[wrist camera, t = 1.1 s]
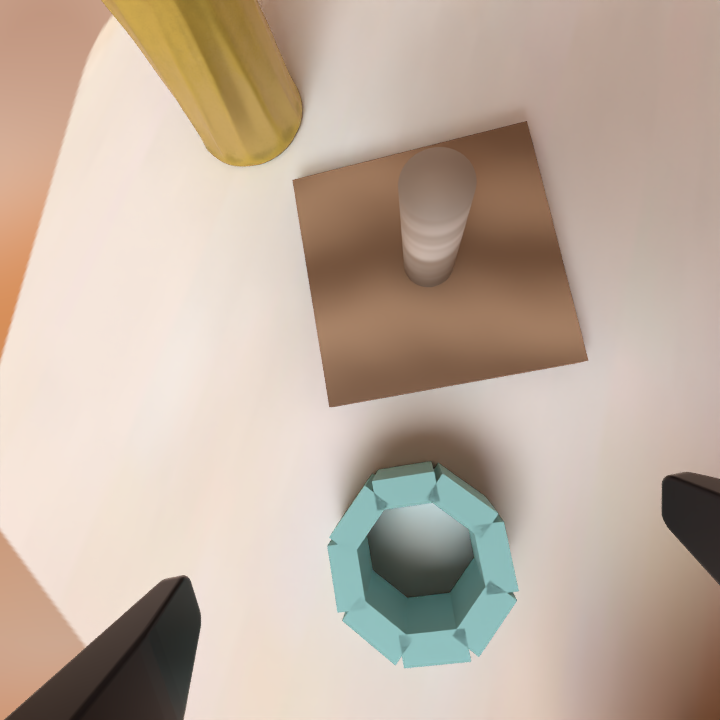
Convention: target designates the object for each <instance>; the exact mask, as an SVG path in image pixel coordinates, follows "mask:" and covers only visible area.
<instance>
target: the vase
mask: <svg viewBox="0 0 720 720" xmlns="http://www.w3.org/2000/svg"><path fill="white" fill-rule="evenodd" d="M102 2H103V3H104V4H105V6H106V7H107V8H108V9H109V11H110V12H111V13H112V14H113V15H114V17H115V18H116V19H117V20H118V22H119V23H120V24H121V25H122V26H123V28H124V29H125V30H126V31H127V33H128V34H129V35H130V36H131V38H132V39H133V40H134V42H135V43H136V44H137V46H138V47H139V49H140V50H141V51H142V53H143V54H144V55H145V57H146V58H147V60H148V61H149V63H150V64H151V65H152V67H153V68H154V70H155V71H156V72H157V74H158V75H159V77H160V78H161V79H162V81H163V82H164V84H165V85H166V86H167V88H168V89H169V90H170V92H171V93H172V94H173V96H174V97H175V98H176V100H177V101H178V103H179V104H180V106H181V108H182V109H183V111H184V112H185V114H186V115H187V117H188V118H189V120H190V121H191V123H192V125H193V126H194V128H195V129H196V131H197V132H198V134H199V135H200V137H201V139H202V140H203V143H204V145H205V146H206V148H207V150H208V151H209V152H210V153H211V154H212V155H213V156H215V157H216V158H217V159H219V160H220V161H222V162H224V163H226V164H229V165H233V166H253V165H259V164H263V163H265V162H267V161H270V160H272V159H273V158H275V157H276V156H278V155H279V154H280V153H282V152H283V151H284V150H285V149H286V148H287V147H288V146H289V144H290V143H291V142H292V140H293V138H294V137H295V135H296V133H297V131H298V128H299V126H300V122H301V117H302V103H301V98H300V94H299V92H298V89H297V87H296V85H295V84H294V82H293V80H292V78H291V76H290V74H289V72H288V70H287V68H286V65H285V63H284V61H283V59H282V56H281V54H280V52H279V49H278V47H277V45H276V42H275V40H274V37H273V35H272V33H271V30H270V28H269V26H268V23H267V21H266V19H265V17H264V15H263V12H262V10H261V8H260V6H259V4H258V2H257V0H102Z"/></svg>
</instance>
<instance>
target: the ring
mask: <svg viewBox="0 0 720 720" xmlns="http://www.w3.org/2000/svg"><path fill="white" fill-rule="evenodd" d="M427 503H434V504H435V505H436V506H438V507H439V508H440V509H442V510H443V511H444V512H446V513H447V514H448V515H450V516H451V517H453V518H454V519H455V520H457V521H458V522H459V523H461V524H462V525H463V526H465V527H466V528H467V529H468V530H469V535H470V540H471V545H472V549H473V554H474V558H473V559H472V561H471V562H470V564H469V565H468V567H467V568H466V570H465V571H464V573H463V574H462V576H461V577H460V579H459V580H458V582H457V583H456V584H455V586H454V587H453V589H452V590H451V592H450V593H443V594H435V595H427V596H418V597H410V598H407V597H406V596H405V595H403V594H402V593H401V592H400V591H398V590H397V589H396V588H395V587H393V586H392V585H391V584H390V583H388V582H387V581H386V580H385V579H383V578H382V577H381V576H380V575H378V574H377V573H376V572H375V571H373V567H372V561H371V555H370V550H369V544H368V538H367V534H368V533H369V531H370V530H371V528H372V527H373V525H374V524H375V523H376V521H377V520H378V518H379V517H380V515H381V514H382V512H383V511H384V510H386V509H393V508H400V507H406V506H413V505H420V504H427ZM329 538H331V541H330V543H329V544H328V546H327V547H328V553H329V560H330V566H331V573H332V579H333V586H334V592H335V599H336V605H337V611H338V612H345V614H344V617H343V620H342V621H343V622H344V623H346V624H347V625H348V626H349V627H350V628H351V629H353V630H354V631H355V632H356V633H357V634H359V635H360V636H361V637H362V638H363V639H365V640H366V641H367V642H368V643H369V644H371V645H372V646H373V647H374V648H375V649H377V650H378V651H379V652H380V653H381V654H382V655H384V656H385V657H386V658H387V659H388V660H390V661H391V662H392V663H393V664H394V665H396V664H397V662H398V661H399V659H400V658H401V656H402V658H403V664H404V668H412V667H422V666H432V665H442V664H453V663H463V662H471V658H470V653H469V649H470V650H471V651H472V652H473V653H475V654H476V655H477V656H478V657H479V656H480V655H481V653H482V652H483V650H484V649H485V647H486V646H487V644H488V643H489V641H490V640H491V638H492V637H493V636H494V634H495V633H496V631H497V630H498V628H499V627H500V625H501V624H502V622H503V621H504V619H505V618H506V616H507V615H508V613H509V612H510V610H511V609H512V607H513V606H514V604H515V603H516V601H517V599H516V598H515V596H514V594H513V592H517V591H519V590H518V585H517V581H516V576H515V571H514V567H513V562H512V557H511V553H510V548H509V543H508V539H507V534H506V529H505V525H504V521H503V520H502V519H501V517H500V516H499V515H498V512H497V511H496V510H495V508H494V507H493V506H492V504H491V503H490V502H489V501H488V499H487V498H486V497H485V496H484V495H483V494H481V493H480V492H479V491H477V490H476V489H474V488H473V487H472V486H470V485H469V484H467V483H466V482H465V481H463V480H462V479H460V478H459V477H457V476H456V475H455V474H453V473H452V472H450V471H449V470H448V469H446V468H445V467H443V466H442V465H441V464H439V463H438V464H437V466H436V467H435V469H433V466H432V463H431V461H429V462H422V463H416V464H410V465H403V466H397V467H391V468H384V469H378V471H377V473H376V475H374V474H373V473H372V475H371V476H370V478H369V479H368V480H367V482H366V483H365V485H364V486H363V488H362V489H361V491H360V492H359V494H358V495H357V496H356V498H355V499H354V501H353V502H352V504H351V505H350V507H349V508H348V510H347V511H346V512H345V514H344V515H343V517H342V518H341V520H340V521H339V523H338V525H337V526H336V528H335V529H334V531H333V532H332V534H331V535H330V537H329Z"/></svg>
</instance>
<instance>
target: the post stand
mask: <svg viewBox="0 0 720 720" xmlns="http://www.w3.org/2000/svg"><path fill="white" fill-rule="evenodd" d="M293 186H294V192H295V198H296V205H297V211H298V217H299V223H300V229H301V235H302V241H303V248H304V254H305V260H306V266H307V272H308V278H309V284H310V291H311V297H312V303H313V309H314V315H315V321H316V327H317V334H318V340H319V346H320V352H321V358H322V364H323V370H324V377H325V383H326V389H327V395H328V401H329V407H336V406H341V405H347V404H353V403H358V402H364V401H369V400H375V399H380V398H386V397H391V396H397V395H403V394H408V393H414V392H419V391H425V390H430V389H436V388H441V387H447V386H453V385H458V384H464V383H469V382H475V381H480V380H486V379H491V378H497V377H503V376H508V375H514V374H519V373H525V372H530V371H536V370H542V369H547V368H553V367H558V366H564V365H569V364H575V363H580V362H584V361H588V357H587V354H586V350H585V346H584V342H583V338H582V334H581V330H580V326H579V322H578V318H577V315H576V311H575V307H574V303H573V299H572V295H571V291H570V287H569V283H568V280H567V276H566V272H565V268H564V264H563V260H562V256H561V252H560V248H559V245H558V241H557V237H556V233H555V229H554V225H553V221H552V217H551V213H550V209H549V206H548V202H547V198H546V194H545V190H544V186H543V182H542V178H541V174H540V171H539V167H538V163H537V159H536V155H535V151H534V147H533V143H532V139H531V136H530V132H529V128H528V124H527V121H525V122H521V123H517V124H514V125H510V126H506V127H502V128H498V129H494V130H490V131H486V132H482V133H478V134H474V135H470V136H466V137H462V138H458V139H454V140H450V141H446V142H442V143H438V144H434V145H430V146H426V147H422V148H418V149H414V150H410V151H406V152H402V153H398V154H394V155H390V156H386V157H382V158H378V159H374V160H370V161H366V162H362V163H358V164H355V165H351V166H347V167H343V168H339V169H335V170H331V171H327V172H323V173H319V174H315V175H311V176H307V177H303V178H299V179H295V180H293Z"/></svg>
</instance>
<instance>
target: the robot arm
mask: <svg viewBox="0 0 720 720" xmlns="http://www.w3.org/2000/svg"><path fill="white" fill-rule="evenodd" d="M662 517H663V520H664V522H665V524H666V525H667V527H668V528H669V529H670V531H671V532H672V533H673V534H674V535H675V536H676V537H677V538H678V539H679V541H680V542H681V543H682V544H683V545H684V546H685V547H686V548H687V549H688V551H689V552H690V553H691V554H692V555H693V556H694V557H695V558H696V559H697V560H698V562H699V563H700V564H701V565H702V566H703V567H704V568H705V569H706V570H707V572H708V573H709V574H710V575H711V576H712V577H713V578H714V579H715V580H716V582H717V583H718V584H719V585H720V479H718V478H714V477H709V476H705V475H700V474H696V473H692V472H682V473H677V474H672V475H668V476H666V477H665V478H664V479H663V481H662ZM200 628H201V614H200V609H199V606H198V603H197V600H196V596H195V593H194V590H193V587H192V584H191V581H190V579H189V578H188V577H187V576H185V575H182V576H177V577H172V578H167V579H164V580H162V581H161V582H159V583H158V584H157V585H156V586H155V587H154V588H153V589H151V590H150V591H149V592H148V593H147V594H146V595H145V596H144V597H142V598H141V599H140V600H139V601H138V602H137V603H136V604H135V605H133V606H132V607H131V608H130V609H129V610H128V611H127V612H125V613H124V614H123V615H122V616H121V617H120V618H119V619H118V620H116V621H115V622H114V623H113V624H112V625H111V626H110V627H108V628H107V629H106V630H105V631H104V632H103V633H102V634H101V635H99V636H98V637H97V638H96V639H95V640H94V641H93V642H92V643H90V644H89V645H88V646H87V647H86V648H85V649H84V650H82V651H81V652H80V653H79V654H78V655H77V656H76V657H75V658H74V659H72V660H71V661H70V662H69V663H68V664H67V665H66V666H64V667H63V668H62V669H61V670H60V671H59V672H58V673H56V674H55V676H53V677H52V678H51V679H50V680H49V681H47V682H46V683H45V684H44V685H43V686H42V687H41V688H39V689H38V690H37V691H36V692H35V693H34V694H33V695H32V696H31V697H29V698H28V699H27V700H26V701H25V702H24V703H22V704H21V705H20V706H19V707H18V708H17V709H16V710H15V711H14V712H12V713H11V714H10V715H9V716H8V717H7V718H6V719H4V720H184V715H185V710H186V704H187V699H188V693H189V688H190V682H191V677H192V672H193V666H194V661H195V655H196V650H197V644H198V639H199V633H200Z"/></svg>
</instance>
